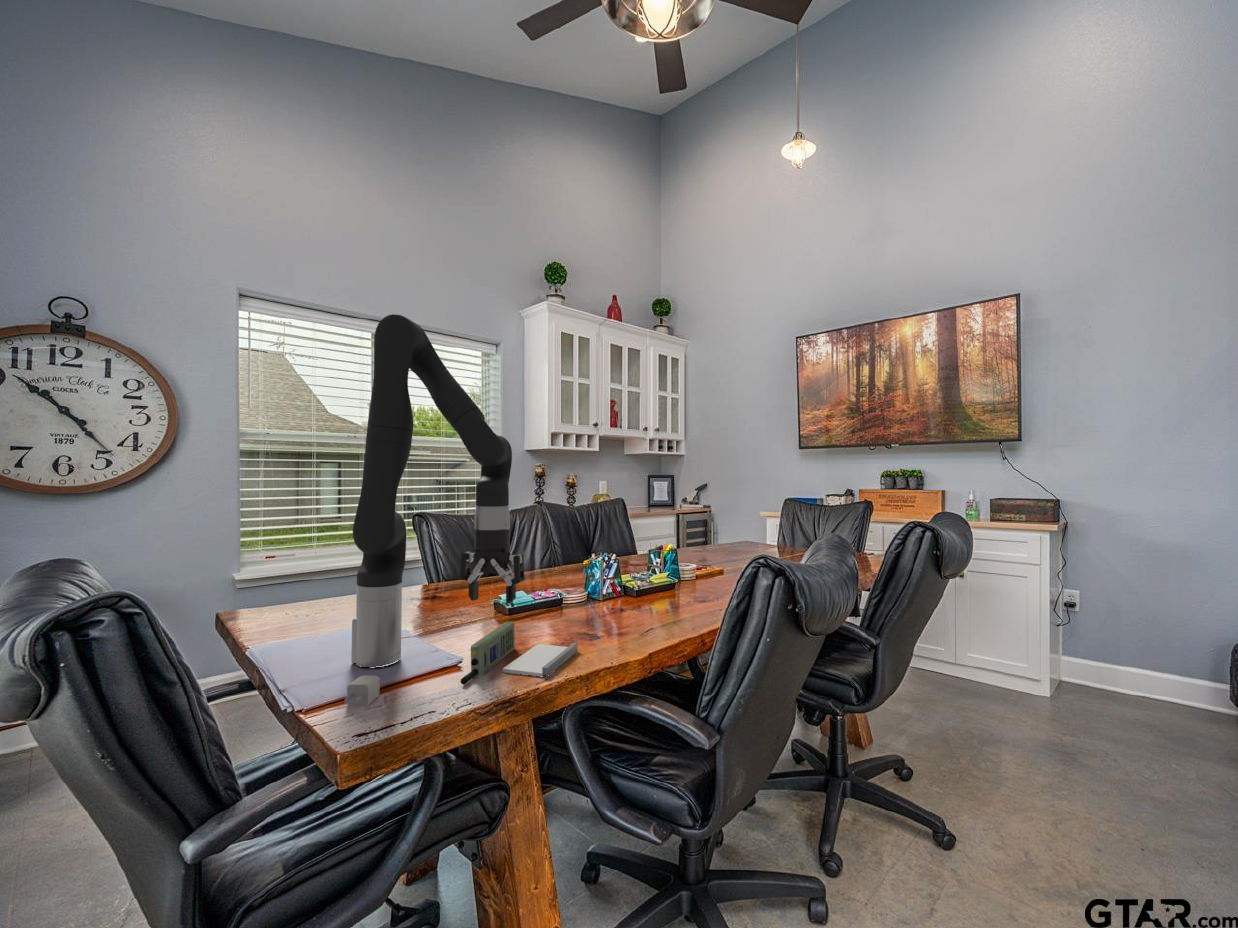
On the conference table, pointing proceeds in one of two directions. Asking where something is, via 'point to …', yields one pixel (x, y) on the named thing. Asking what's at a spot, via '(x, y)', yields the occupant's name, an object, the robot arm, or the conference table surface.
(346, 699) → the usb wall charger
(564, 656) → the charging dock
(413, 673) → the conference table surface
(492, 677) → the conference table surface
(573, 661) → the conference table surface
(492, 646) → the handheld radio
